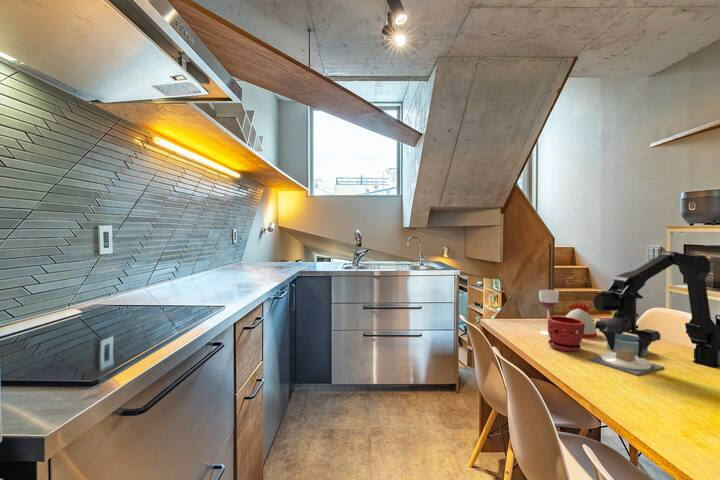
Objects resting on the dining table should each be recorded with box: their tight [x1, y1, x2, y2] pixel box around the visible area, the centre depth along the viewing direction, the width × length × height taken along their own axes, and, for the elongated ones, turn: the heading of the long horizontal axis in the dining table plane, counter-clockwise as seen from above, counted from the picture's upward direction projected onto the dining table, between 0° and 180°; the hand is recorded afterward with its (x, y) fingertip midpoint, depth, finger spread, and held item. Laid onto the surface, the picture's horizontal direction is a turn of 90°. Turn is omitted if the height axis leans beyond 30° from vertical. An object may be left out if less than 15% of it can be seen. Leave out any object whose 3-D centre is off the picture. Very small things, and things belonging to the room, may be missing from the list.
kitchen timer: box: [563, 301, 598, 339], centre depth 168 cm, size 14×14×15 cm
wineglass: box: [538, 289, 560, 336], centre depth 168 cm, size 8×9×20 cm
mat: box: [588, 355, 665, 377], centre depth 129 cm, size 16×16×1 cm
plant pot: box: [547, 315, 585, 352], centre depth 147 cm, size 13×13×12 cm
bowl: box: [606, 333, 649, 357], centre depth 144 cm, size 13×13×5 cm
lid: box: [600, 347, 652, 370], centre depth 129 cm, size 15×15×5 cm
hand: (625, 353), depth 129 cm, fingers open, 9 cm apart
